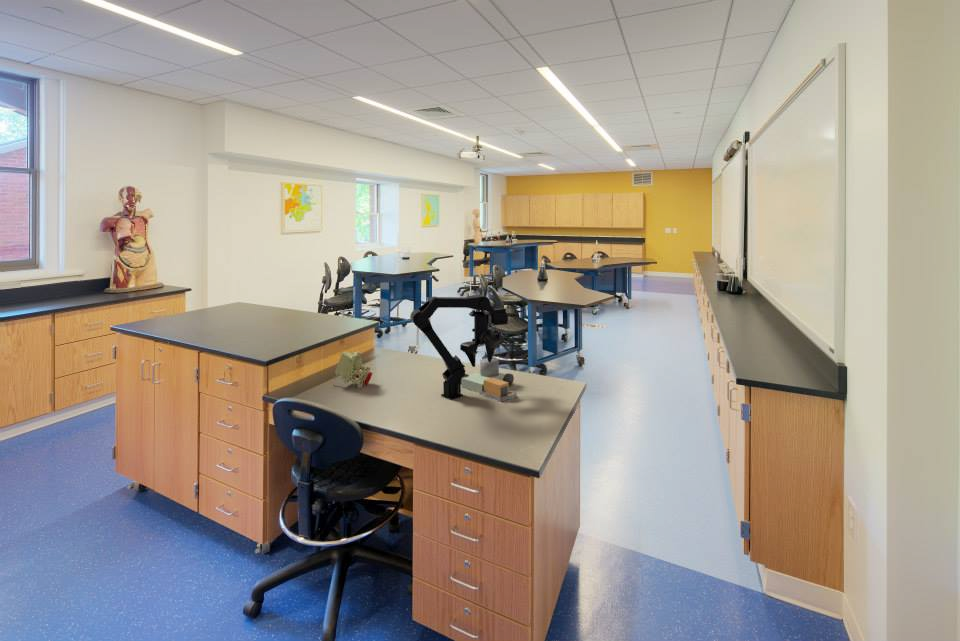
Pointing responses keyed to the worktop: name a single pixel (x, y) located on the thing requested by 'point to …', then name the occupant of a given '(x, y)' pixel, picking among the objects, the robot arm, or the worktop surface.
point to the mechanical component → (353, 369)
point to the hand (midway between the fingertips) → (481, 364)
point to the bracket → (510, 395)
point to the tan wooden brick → (496, 387)
